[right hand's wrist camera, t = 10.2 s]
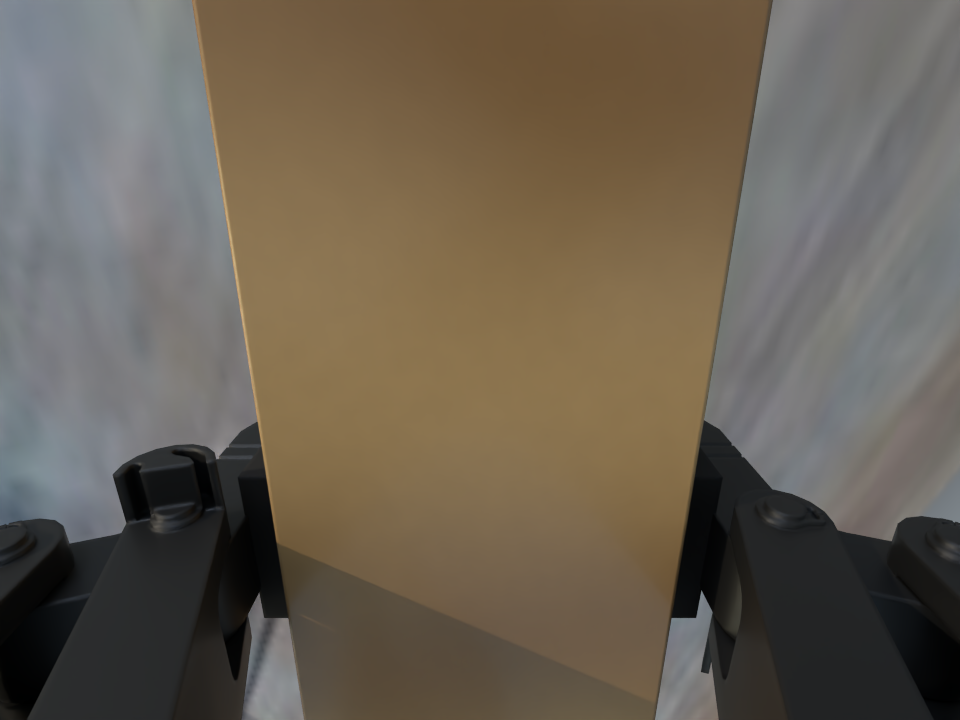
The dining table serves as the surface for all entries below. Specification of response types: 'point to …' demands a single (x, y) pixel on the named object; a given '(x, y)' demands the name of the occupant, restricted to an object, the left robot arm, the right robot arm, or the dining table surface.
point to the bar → (481, 330)
